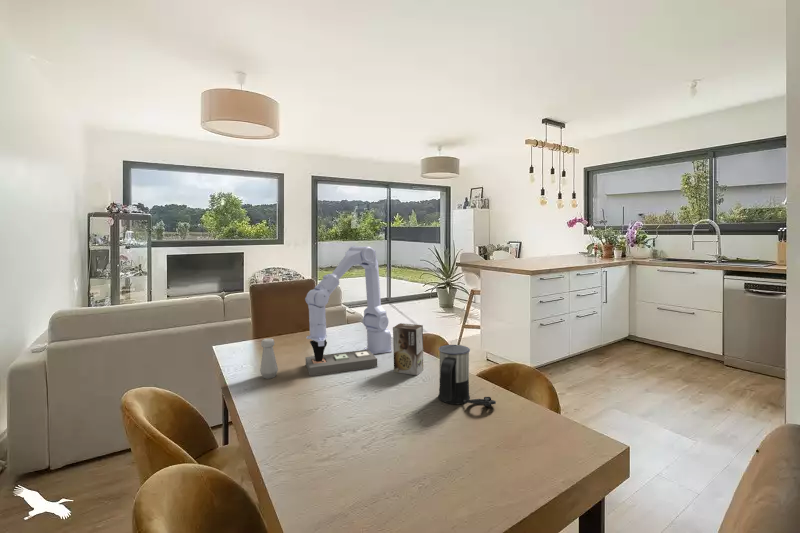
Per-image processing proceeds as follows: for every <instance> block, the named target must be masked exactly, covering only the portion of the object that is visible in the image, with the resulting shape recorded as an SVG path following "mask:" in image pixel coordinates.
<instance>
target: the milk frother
mask: <svg viewBox="0 0 800 533" xmlns="http://www.w3.org/2000/svg"><path fill="white" fill-rule="evenodd" d="M438 351H439V388H438V391H439V393H438V399H439V400H440V401H442V402H443V403H445V404H451V405H461V404H465V403H466V404H468V403H469V404H476V405H484V406H485V407H489V408H490V407H492V405H496V403H497V401H496V400H494V399H492V397H491V396H484V397H483V398H475V399H474V398H473V399H471V396H470V380H469V379H470V351H471V348H470V347H467V346H465V345H461V344H459V345H458V344H446V345H442V346H439V347H438Z"/></svg>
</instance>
